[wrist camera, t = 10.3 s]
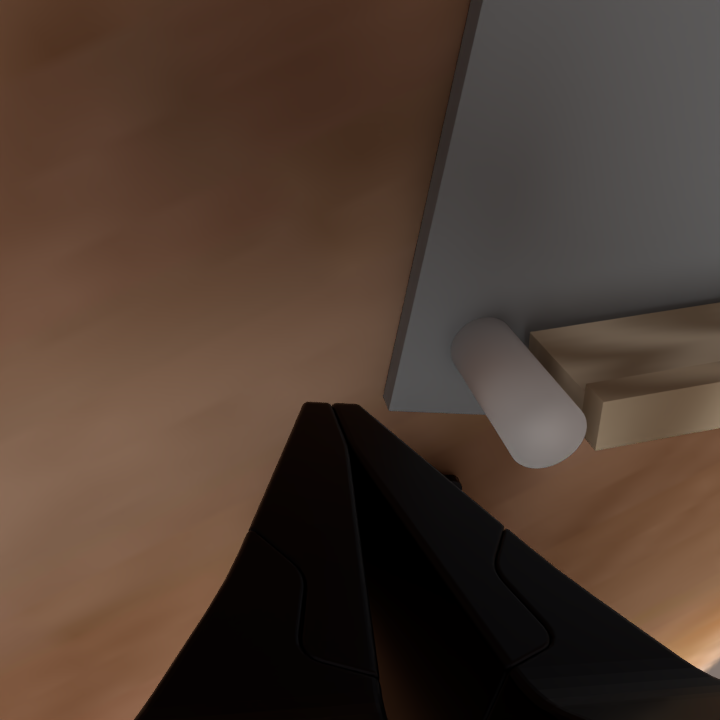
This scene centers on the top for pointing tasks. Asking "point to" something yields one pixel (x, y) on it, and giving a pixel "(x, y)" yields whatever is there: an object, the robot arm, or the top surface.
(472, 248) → the board
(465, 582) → the robot arm
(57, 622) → the top surface
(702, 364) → the light wood bar
